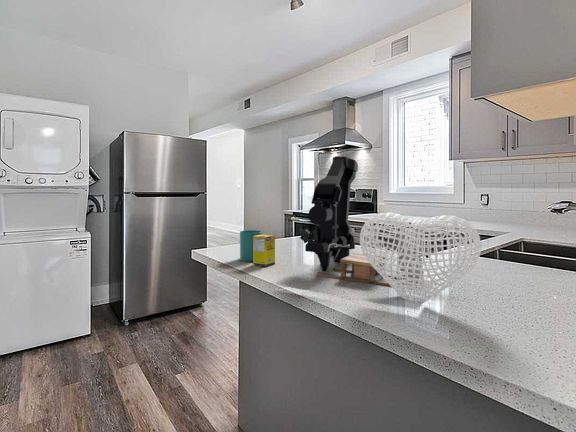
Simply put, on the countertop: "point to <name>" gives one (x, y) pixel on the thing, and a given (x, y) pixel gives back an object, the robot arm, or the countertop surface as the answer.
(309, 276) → the countertop surface
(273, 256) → the supplement box
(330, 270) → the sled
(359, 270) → the block
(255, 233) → the cup
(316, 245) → the robot arm
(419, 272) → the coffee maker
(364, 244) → the heart
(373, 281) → the tunnel channel
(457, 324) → the countertop surface
